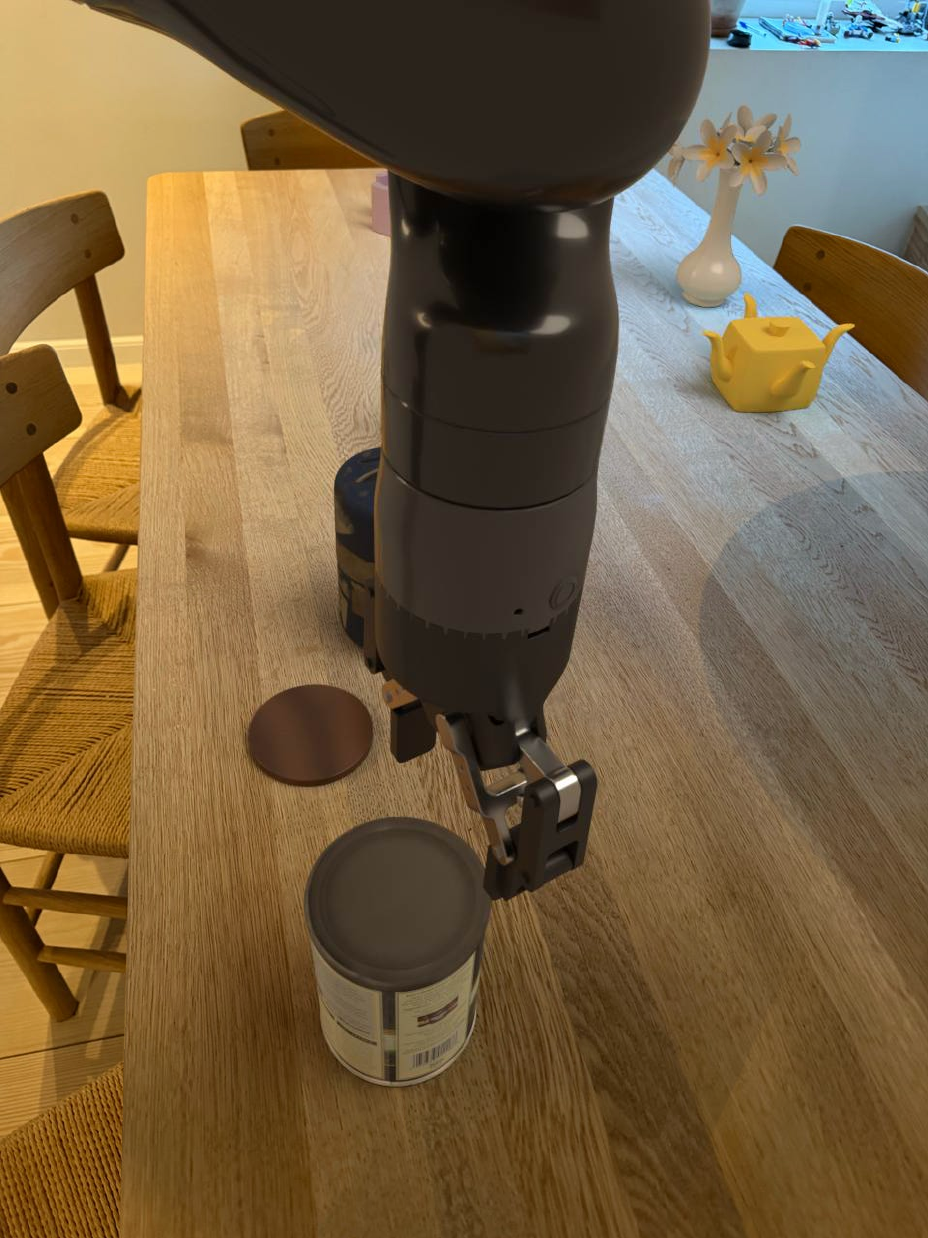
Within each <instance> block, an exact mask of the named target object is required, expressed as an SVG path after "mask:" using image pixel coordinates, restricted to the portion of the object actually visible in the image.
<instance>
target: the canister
mask: <svg viewBox="0 0 928 1238" xmlns="http://www.w3.org/2000/svg"><path fill="white" fill-rule="evenodd" d="M380 455H381V446H376V447H372V448H368V449H365V450H363V451H362V450H361V451H360V452H357V453H356V454H354V455H352V456H350V457H349V458H348V459H347V460H346V461H344V462H343V463H342V464H341V466H340V467H339V469H338V470H337V472H336V474H335V477H334V481H333V505H334V506H333V507H334V508H333V509H334V513H333V514H334V515H333V516H334V532H335V533H334V534H335V556H336V562H337V563H336V564H337V565H336V567H337V568H336V570H337V584H338V585H337V588H338V589H337V590H338V591H337V592H338V609H339V610H338V611H339V620H340V624H341V627H342V630H343V631H344V633H345V634H346V636H347V637H348V638H349V640H351V641H352V642H353V643H354V644H356V645H357V646H359V647H360V648H362V649H364V595H365V579H367V578H370V577H373V576H375V550H374V497H375V489H376V481H377V474H378V468H379V463H380Z"/></svg>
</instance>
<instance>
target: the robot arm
mask: <svg viewBox="0 0 928 1238" xmlns="http://www.w3.org/2000/svg"><path fill="white" fill-rule="evenodd" d="M69 1H70V2H72V3H74V4H77V5H79V6H83V5H86V6H87V7H88V8H89V9H90V10H91V11H94V12H97V13H100V14H102V15H105V16H108V17H110V18H113V19H116V20H119V21H122V22H125V23H128V24H132V25H134V26H138V27H141V28H143V29H147V30H150V31H152V32H155V33H158V34H160V35H162V36H165V37H167V38H169V39H171V40H173V41H175V42H177V43H179V44H180V45H182V46H183V47H185V48H187V49H189V50H191V51H192V52H194V53H196V54H197V55H199V56H200V57H202V58H204V60H206V61H208V62H209V63H211V64H212V65H213V66H215V67H217V68H218V69H219V70H221V71H222V72H223V73H225V74H226V75H228V76H230V77H231V78H232V79H233V80H235V81H236V82H238V83H239V84H241V85H243V86H245V87H246V88H247V89H249V90H251V91H252V92H254V93H256V94H257V95H259V96H261V97H262V98H264V99H266V100H267V101H269V102H271V103H273V104H274V105H276V106H277V107H279V108H281V109H282V110H283V111H286V112H288V113H289V114H291V115H293V116H294V117H295V118H297V119H299V120H300V121H302V122H304V123H305V124H307V125H309V126H311V127H312V128H314V129H315V130H318V131H319V132H321V133H322V134H324V135H325V136H327V137H329V138H330V139H332V140H334V141H336V142H337V143H339V144H341V145H342V146H344V147H346V148H348V149H349V150H351V151H353V152H355V153H356V154H358V155H360V156H361V157H363V158H364V159H367V160H368V161H370V162H372V163H374V164H375V165H377V166H379V167H381V168H383V169H385V170H386V172H387V176H388V196H389V214H390V233H391V236H390V255H389V269H388V278H387V287H386V294H385V302H384V303H385V304H384V310H383V311H384V313H383V321H382V330H381V342H380V343H381V344H380V345H381V347H380V348H381V349H380V447H381V455H380V463H379V468H378V474H377V481H376V489H375V497H374V550H375V576H373V577H370V578H367V579H365V595H364V648H363V662H364V665H365V667H366V669H368V671H369V673H370V674H371V675H373V676H374V675H376V674H379V673H381V675H382V677H383V679H384V680H385V682H386V683H384V684H382V685H381V687H380V688H381V689H380V691H381V697H382V700H383V702H384V703H385V704H386V706H387V707H388V708H389V709H390V710H389V711H390V712H389V713H390V716H389V717H390V718H389V720H390V722H389V723H390V724H389V725H390V727H389V730H390V731H389V733H390V735H389V736H390V737H389V738H390V739H389V740H390V741H389V743H390V744H389V747H390V748H389V751H390V753H391V755H392V756H393V758H394V759H395V761H396V762H397V763H398V764H405V763H407V762H409V761H412V760H414V759H417V758H419V757H421V756H424V755H425V754H427V753H430V752H431V751H432V750H433V749H434V748H435V746H436V745H437V734H438V735H439V738H440V741H441V745H442V746H443V748H444V749H446V750H447V751H449V752H450V754H451V757H452V760H453V764H454V767H455V771H456V775H457V777H458V780H459V784H460V788H461V790H462V795H463V797H464V800H465V804H466V806H467V807H468V809H470V810H472V811H474V812H475V813H476V814H479V815H480V816H481V817H482V821H483V824H484V827H485V832H486V835H487V837H488V840H489V844H488V846H487V851H486V852H487V853H486V858H485V859H486V861H485V866H484V868H485V874H484V881H483V888H484V889H485V891H486V892H487V894H488V895H489V897H490V898H491V901H493V902H495V901H498V900H501V899H503V901H504V902H505V903H507V902H509V901H510V900H511V899H514V898H515V897H517V896H519V895H521V894H522V893H524V892H529V893H534V892H535V891H537V890H539V889H540V888H542V887H543V886H544V885H546V884H548V883H550V882H551V881H553V880H555V879H557V878H558V877H561V876H563V875H564V874H566V873H568V872H570V871H574V870H576V869H578V868H580V867H581V866H583V865H584V862H585V858H586V857H585V856H586V852H587V846H588V841H589V834H590V830H591V824H592V819H593V813H594V806H595V802H596V796H597V790H598V786H599V785H598V784H599V783H598V782H599V781H598V778H597V775H596V772H595V770H594V768H593V767H592V765H591V764H590V762H588V761H587V760H586V759H583V758H580V759H578V760H576V761H573V762H572V763H570V764H568V765H565V764H564V763H563V762H562V760H561V759H559V757H558V756H557V755H556V754H555V753H554V751H552V749H550V747H549V746H548V745H547V744H546V743H547V739H548V729H547V724H546V719H545V712H544V711H545V710H544V705H545V703H546V700H547V698H548V697H549V696H550V694H551V692H552V691H553V690H554V688H555V686H556V685H557V683H558V681H560V680H561V677H562V675H563V674H564V672H565V671H566V668H567V667H568V663H569V661H570V658H571V653H572V647H573V644H574V637H575V633H576V628H577V621H578V616H579V611H580V606H581V602H582V596H583V591H584V585H585V580H586V575H587V569H588V564H589V558H590V553H591V549H592V543H593V539H594V534H595V527H596V518H597V512H598V511H597V510H598V478H599V477H598V475H599V467H600V466H599V465H600V458H601V455H602V448H603V444H604V438H605V433H606V427H607V421H608V416H609V410H610V405H611V400H612V395H613V389H614V385H615V376H616V369H617V362H618V356H619V345H620V344H619V343H620V312H619V303H618V298H617V297H618V296H617V292H616V286H615V281H614V276H613V270H612V263H611V250H610V248H611V247H610V243H611V242H610V239H611V225H612V218H613V217H612V216H613V210H614V204H615V197H616V196H618V195H621V194H622V193H623V192H625V191H626V190H628V189H629V188H631V187H632V186H634V185H635V184H637V183H638V182H639V181H640V180H642V179H643V178H644V177H645V176H646V175H648V174H649V173H650V172H651V171H652V170H653V169H655V167H656V166H657V165H658V164H659V163H660V162H661V161H662V160H663V159H664V157H665V156H667V154H669V153H668V151H669V150H670V149H671V147H672V146H673V145H674V143H675V142H676V140H677V139H678V140H679V137H680V136H681V134H682V133H683V131H684V129H685V127H686V126H687V124H688V122H689V120H690V118H691V116H692V114H693V111H694V110H695V107H696V105H697V103H698V99H699V97H700V94H701V92H702V91H701V90H702V87H703V84H704V80H705V76H706V72H707V69H708V63H709V57H710V50H711V40H712V39H711V38H712V8H711V0H69ZM517 763H518V765H519V768H518V770H517V771H515V772H514V773H512V774H510V775H507V776H506V777H504V778H502V779H500V780H497V781H496V782H493V783H491V784H490V785H487V786H486V784H485V780H484V778H483V777H484V776H483V773H482V772H486V771H490V770H496V769H501V768H506V767H510V766H514V765H516V764H517ZM516 805H517V806H518V807H519V808H521V816H520V822H519V823H518V824H516V825H514V826H512V827H509V825H508V822H507V818H506V812H507V811H508V809H510V808H511V807H514V806H516Z"/></svg>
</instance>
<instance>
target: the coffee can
mask: <svg viewBox="0 0 928 1238" xmlns="http://www.w3.org/2000/svg"><path fill="white" fill-rule="evenodd" d="M484 874H485V866H484V864H483V862H482V860H481V859H480V857H479V855H478V854H477V852H475V850H474V849H473V848H472V846H470V844H468V842H466V841H465V839H464V838H462V837H461V836H460V835H458V834H457V833H455V832H454V831H452V830H450V829H449V828H447V827H446V826H443V825H441V824H438V823H436V822H433V821H431V820H427V819H423V818H419V817H414V816H413V817H412V816H386V817H380V818H376V819H372V820H369V821H366V822H365V821H364V822H363V823H361V824H358V825H355V826H353V827H352V828H349V829H347V830H346V831H344V832H343V833H341V834H340V835H339V836H338V837H336V838H335V839H334V840H333V841H332V842H331V843H329V844H328V845H327V847H326V848H324V850H323V851H322V852H321V853H320V854H319V856H318V858H317V859H316V861H315V862H314V864H313V865H312V867H311V870H310V871H309V874H308V876H307V880H306V883H305V887H304V888H305V889H304V894H303V914H304V920H305V925H306V928H307V932H308V934H309V940H310V947H311V953H312V959H313V966H314V967H313V968H314V973H315V982H316V989H317V996H318V1003H319V1021H320V1026H321V1030H322V1033H323V1037H324V1039H325V1042H326V1044H327V1046H328V1048H329V1050H330V1052H331V1053H332V1054H333V1056H334V1057H335V1058H336V1059H337V1060H338V1062H339V1063H340V1064H341V1065H342V1066H343V1067H344V1068H345V1069H347V1070H348V1071H349V1073H351V1074H352V1075H353V1076H356V1077H359V1078H360V1079H362V1080H364V1081H366V1082H368V1083H372V1084H374V1085H377V1086H378V1085H379V1086H382V1087H383V1086H384V1087H408V1086H415V1085H418V1084H420V1083H423V1082H425V1081H426V1082H427V1081H428V1080H431V1079H432V1078H434V1077H436V1076H438V1075H439V1074H441V1073H443V1072H444V1071H445V1070H447V1069H448V1068H449V1067H450V1066H451V1065H452V1064H453V1063H454V1062H455V1061H456V1060H457V1059H458V1058H459V1057H460V1055H462V1053H463V1052H464V1050H465V1049H466V1047H467V1045H468V1043H469V1041H470V1039H471V1037H472V1034H473V1032H474V1028H475V1023H476V1019H477V1009H478V1007H477V1006H478V1004H477V1002H478V994H479V985H480V977H481V976H480V975H481V968H482V960H483V954H484V945H485V937H486V931H487V929H488V925H489V922H490V916H491V913H492V900H491V898H490V897H489V895H488V894H487V892H486V891H485V889H484V888H483V881H484Z"/></svg>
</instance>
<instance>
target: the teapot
mask: <svg viewBox="0 0 928 1238" xmlns="http://www.w3.org/2000/svg"><path fill="white" fill-rule="evenodd" d="M743 300H744V315H743V318H737V319H732V320H730V321H729V322H728V324H727V326H726V328H725V331H724V332H723V334H722V336H721V335H720V334H719V333H718V332H716V331H712V330H701V331H700V334H702V336H705V337H706V338H708V340H709V342H710V345H711V347H710V359H709V360H710V361H709V362H710V368H711V374H710V375H711V380H712V383H713V384H714V386H715V387H716V388H717V390H718V392H719V393H720V394H721V396H722V397H723V398H724V399H725V401H726V402H727V403H728V405H729V406H730V407H731V408H732V410H734V411H735V412H740V413H775V412H786V411H792V410H793V411H795V410H801V409H805V408H809V407H810V406H811V405H812V403H813V401H814V400H815V398H816V396H817V393H818V391H819V387H820V384H821V381H822V380H821V379H822V376H823V372H824V371H823V370H824V367H825V366H826V365H827V363H828V361H829V359H830V357H831V355H832V352H833V350H834V348H835V346H836V344H837V342H838V341H839V339H840V338H841V337H842V336H843V335H844V334H845V333H847V332H849V331H850V330H851V329H854V328H855V327H856V326H855V324H854V323H843V324H839V325H836V326H834V327H833V328H832V329H831V330H829V331H828V333H827V334H826V335H825V336H824V338H822V340H821V339H820V337H818V336H817V334H816V333H815V332H814V331H813V330H812V329H811V328H810V327H809V326H808V325H807V324H806V323H805V322H804V321H803V320H802V319H801V318H800V317H798V316H758V307H757V302H756V300H755V298H754V296H752V295H751V294H750V293H744V294H743Z"/></svg>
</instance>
